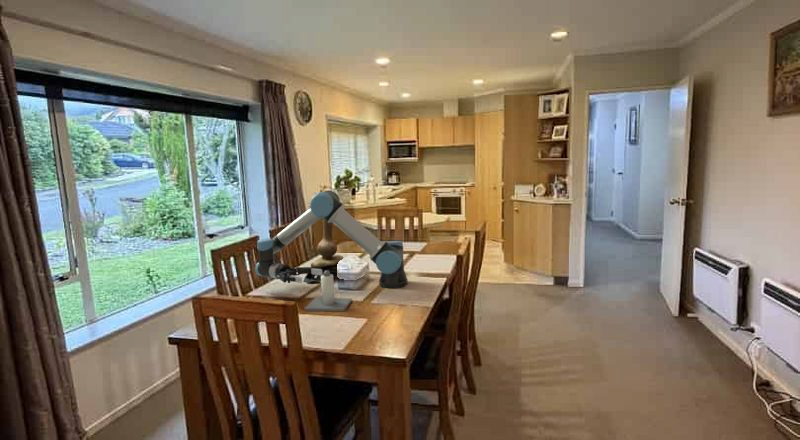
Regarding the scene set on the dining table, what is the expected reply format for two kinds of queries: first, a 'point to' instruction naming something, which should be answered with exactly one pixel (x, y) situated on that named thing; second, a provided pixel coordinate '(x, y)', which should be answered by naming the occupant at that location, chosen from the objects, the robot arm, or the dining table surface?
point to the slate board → (337, 306)
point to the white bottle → (327, 288)
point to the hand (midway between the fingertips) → (311, 276)
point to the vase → (325, 255)
